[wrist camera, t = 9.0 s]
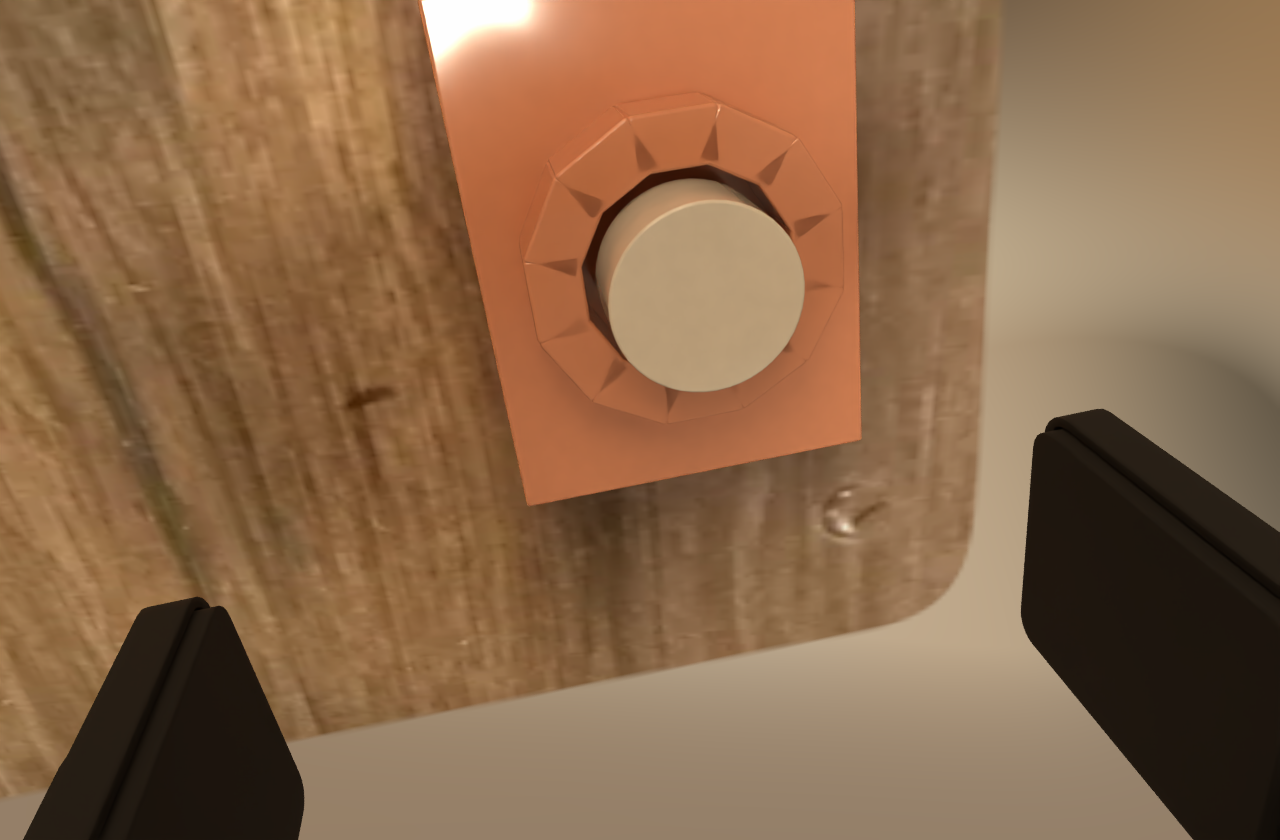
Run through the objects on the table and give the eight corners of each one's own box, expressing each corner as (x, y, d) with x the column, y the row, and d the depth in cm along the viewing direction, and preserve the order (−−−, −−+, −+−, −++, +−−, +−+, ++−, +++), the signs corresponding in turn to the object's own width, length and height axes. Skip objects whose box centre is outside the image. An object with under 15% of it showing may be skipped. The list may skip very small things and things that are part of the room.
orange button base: (821, 391, 27) (890, 474, 23) (520, 449, 26) (532, 547, 22) (804, -63, 22) (891, -70, 17) (422, -8, 21) (412, 0, 16)
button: (779, 338, 21) (809, 374, 19) (609, 370, 21) (623, 409, 19) (769, 163, 19) (801, 184, 17) (581, 194, 19) (594, 219, 17)
